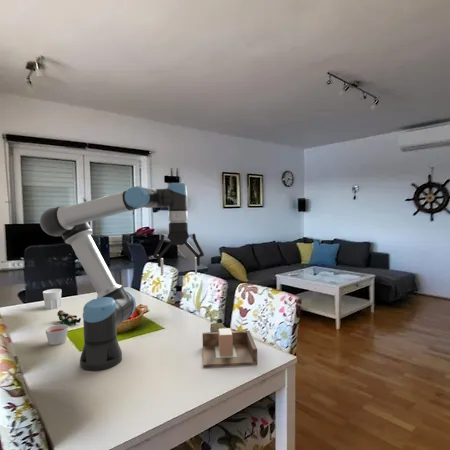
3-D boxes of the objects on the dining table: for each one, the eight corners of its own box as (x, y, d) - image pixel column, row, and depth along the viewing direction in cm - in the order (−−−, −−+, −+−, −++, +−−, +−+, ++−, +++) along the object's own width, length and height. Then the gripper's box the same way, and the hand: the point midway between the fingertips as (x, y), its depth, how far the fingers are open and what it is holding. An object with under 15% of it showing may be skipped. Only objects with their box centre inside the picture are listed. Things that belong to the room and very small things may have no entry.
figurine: (70, 321, 162) (52, 311, 169) (69, 332, 163) (51, 321, 170) (84, 316, 168) (66, 307, 176) (83, 327, 169) (65, 317, 176)
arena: (203, 367, 120) (203, 351, 120) (202, 346, 138) (202, 332, 138) (257, 364, 122) (257, 348, 121) (249, 344, 139) (249, 330, 139)
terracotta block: (218, 348, 133) (218, 328, 133) (230, 347, 134) (230, 327, 133) (219, 356, 126) (219, 335, 126) (232, 355, 127) (232, 334, 126)
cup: (50, 304, 202) (50, 288, 202) (65, 305, 201) (65, 289, 200) (39, 309, 192) (38, 292, 192) (55, 310, 191) (54, 293, 190)
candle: (42, 342, 145) (42, 328, 144) (64, 336, 151) (63, 323, 151) (50, 348, 138) (49, 333, 138) (72, 341, 145) (71, 327, 145)
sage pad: (216, 358, 125) (216, 357, 125) (214, 347, 135) (214, 346, 135) (237, 357, 125) (237, 356, 125) (234, 346, 135) (234, 345, 135)
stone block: (215, 342, 142) (215, 331, 142) (209, 333, 153) (209, 322, 153) (228, 341, 144) (228, 330, 143) (221, 331, 155) (221, 321, 155)
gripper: (145, 222, 127) (146, 277, 128) (209, 221, 129) (210, 275, 130) (148, 221, 134) (149, 273, 135) (208, 220, 136) (209, 271, 137)
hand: (179, 274), depth 132 cm, fingers open, 13 cm apart
